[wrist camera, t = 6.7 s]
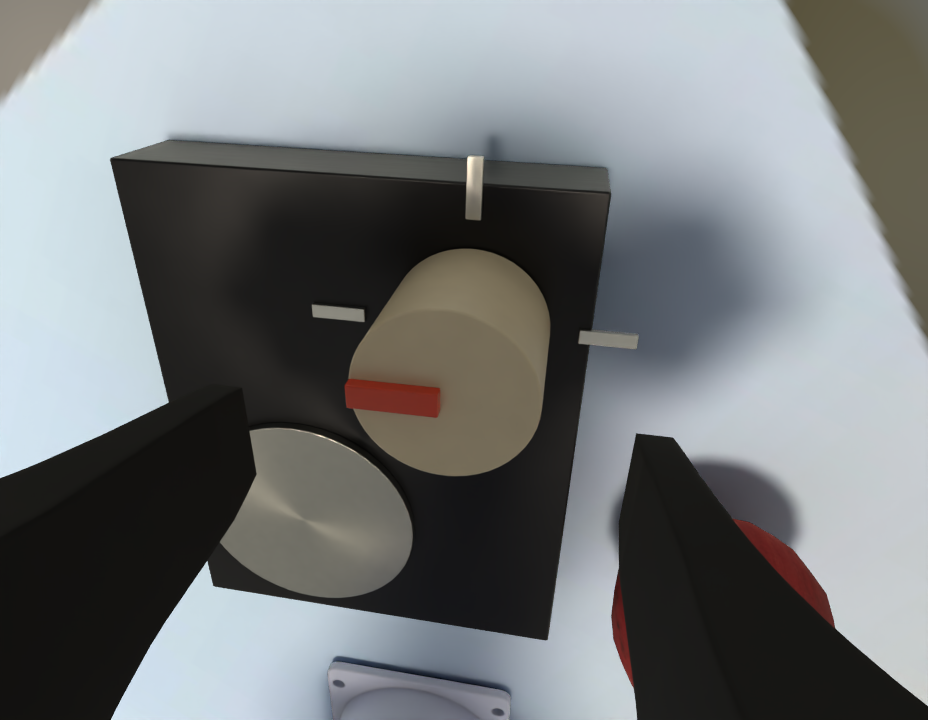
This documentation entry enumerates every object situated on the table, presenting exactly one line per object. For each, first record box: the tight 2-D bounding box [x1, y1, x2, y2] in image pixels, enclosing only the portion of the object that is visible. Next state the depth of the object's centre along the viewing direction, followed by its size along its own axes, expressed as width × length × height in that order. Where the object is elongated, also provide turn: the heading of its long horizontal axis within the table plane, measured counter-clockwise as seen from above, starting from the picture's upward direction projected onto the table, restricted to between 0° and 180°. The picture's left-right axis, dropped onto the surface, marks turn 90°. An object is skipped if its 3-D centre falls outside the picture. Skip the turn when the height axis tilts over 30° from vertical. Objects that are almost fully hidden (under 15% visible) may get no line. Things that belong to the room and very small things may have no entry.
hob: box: [110, 140, 639, 640], centre depth 19 cm, size 16×13×3 cm
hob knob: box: [345, 249, 550, 476], centre depth 14 cm, size 4×4×4 cm
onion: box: [611, 519, 835, 688], centre depth 17 cm, size 6×6×8 cm
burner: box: [220, 423, 415, 598], centre depth 20 cm, size 7×7×1 cm
